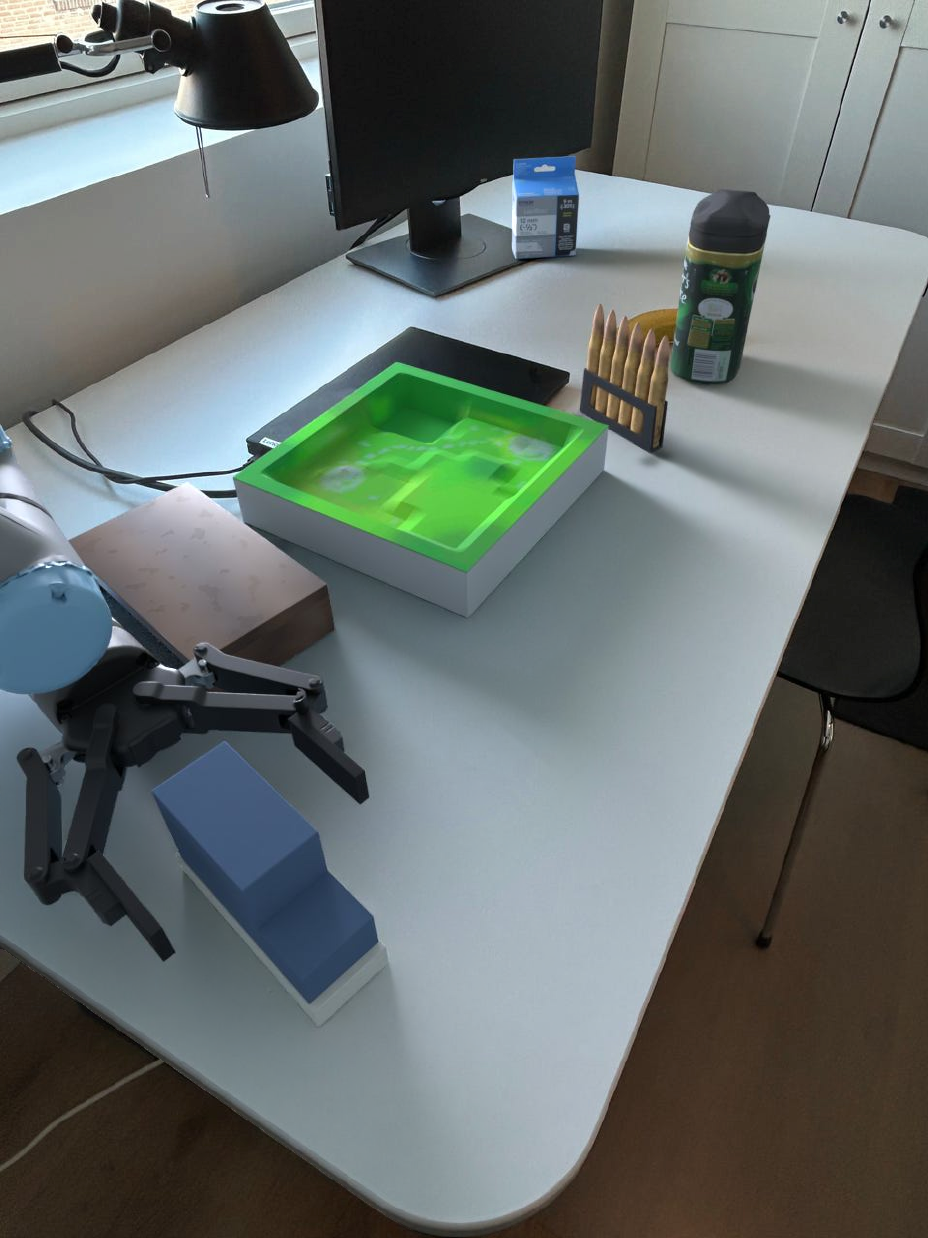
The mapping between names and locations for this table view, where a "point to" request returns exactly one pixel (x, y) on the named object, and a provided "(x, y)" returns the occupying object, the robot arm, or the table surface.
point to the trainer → (270, 880)
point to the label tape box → (544, 208)
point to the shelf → (206, 580)
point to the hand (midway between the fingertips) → (270, 862)
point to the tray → (425, 483)
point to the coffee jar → (718, 285)
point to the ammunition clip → (626, 382)
